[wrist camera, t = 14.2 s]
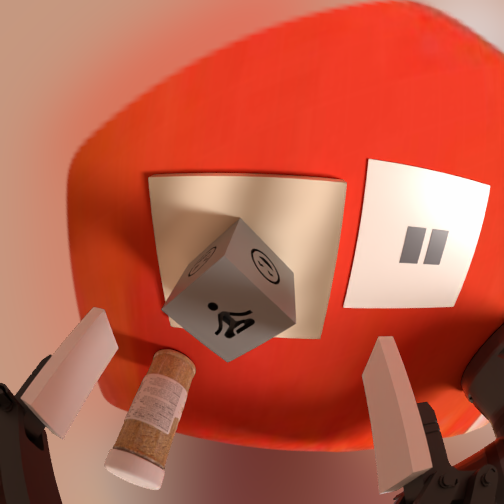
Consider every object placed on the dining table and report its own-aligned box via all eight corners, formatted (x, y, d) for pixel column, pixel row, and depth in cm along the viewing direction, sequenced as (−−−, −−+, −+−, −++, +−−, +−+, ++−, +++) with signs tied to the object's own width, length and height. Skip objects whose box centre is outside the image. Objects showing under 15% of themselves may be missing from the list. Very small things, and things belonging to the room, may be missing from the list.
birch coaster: (343, 179, 16) (346, 182, 15) (318, 330, 21) (320, 338, 20) (154, 174, 17) (148, 177, 16) (174, 318, 22) (170, 326, 21)
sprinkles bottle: (184, 381, 26) (148, 491, 14) (147, 359, 25) (98, 468, 13) (205, 364, 24) (168, 492, 12) (165, 339, 23) (108, 466, 11)
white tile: (489, 185, 14) (490, 185, 14) (452, 306, 19) (453, 306, 19) (368, 158, 15) (368, 159, 15) (343, 306, 20) (343, 308, 20)
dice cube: (239, 310, 19) (227, 362, 15) (188, 264, 18) (161, 309, 14) (293, 272, 18) (296, 323, 13) (240, 217, 16) (224, 255, 12)
